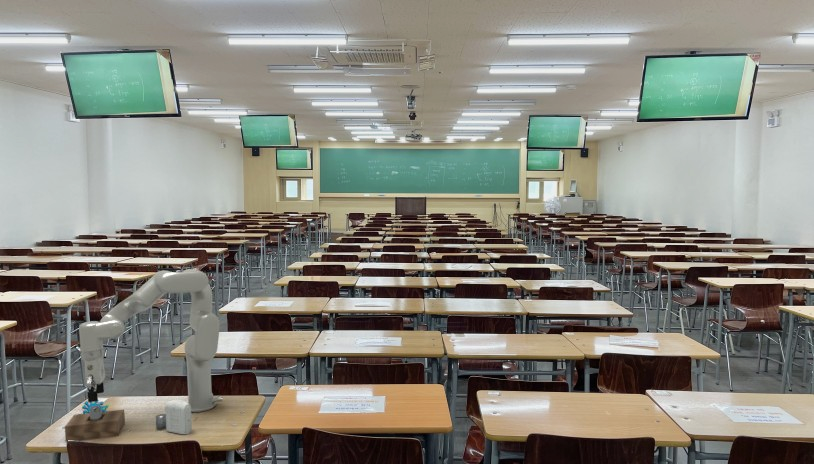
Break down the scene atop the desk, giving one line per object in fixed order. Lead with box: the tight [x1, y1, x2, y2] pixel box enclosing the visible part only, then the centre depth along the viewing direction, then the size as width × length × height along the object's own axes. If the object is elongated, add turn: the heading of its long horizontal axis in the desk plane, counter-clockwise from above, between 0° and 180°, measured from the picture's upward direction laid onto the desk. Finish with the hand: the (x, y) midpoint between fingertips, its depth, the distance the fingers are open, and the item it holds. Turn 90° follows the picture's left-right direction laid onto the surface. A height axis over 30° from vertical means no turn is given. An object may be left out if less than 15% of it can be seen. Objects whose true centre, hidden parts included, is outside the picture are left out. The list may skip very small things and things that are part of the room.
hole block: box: [64, 408, 126, 442], centre depth 222 cm, size 18×12×6 cm, turn 106°
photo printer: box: [165, 399, 193, 435], centre depth 222 cm, size 10×4×12 cm, turn 69°
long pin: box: [89, 405, 102, 421], centre depth 222 cm, size 4×4×10 cm
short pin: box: [155, 413, 166, 431], centre depth 226 cm, size 4×4×5 cm
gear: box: [81, 399, 110, 414], centre depth 238 cm, size 11×6×10 cm
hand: (96, 397), depth 222 cm, fingers open, 9 cm apart
